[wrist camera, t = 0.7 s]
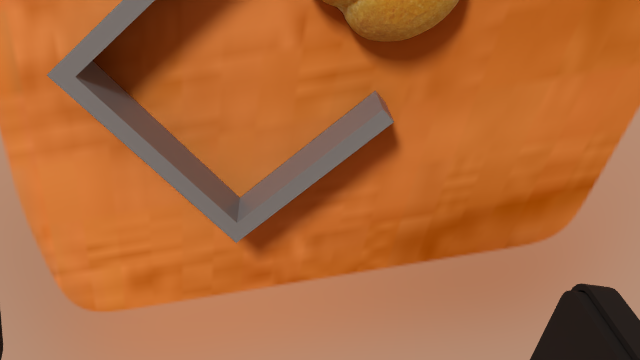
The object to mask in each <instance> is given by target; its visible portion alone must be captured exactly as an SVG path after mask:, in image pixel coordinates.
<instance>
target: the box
mask: <svg viewBox="0 0 640 360" xmlns="http://www.w3.org/2000/svg"><path fill="white" fill-rule="evenodd" d="M154 1H155V0H123V1H122V2H121V3H120V4H118V5H117V6H116V7H115V8H114V9H113V10H112V11H111V12H110V13H109V14H108V15H107V16H106V17H105V18H104V19H103V20H102V21H101V22H100V23H99V24H98V25H97V26H96V27H95V28H94V29H93V30H92V31H91V32H90V33H89V34H88V35H87V36H86V37H85V38H84V39H83V40H82V41H81V42H80V43H79V44H78V45H77V46H76V47H75V48H74V49H73V50H72V51H71V52H70V53H69V54H68V55H67V56H66V57H65V58H64V59H63V60H62V61H60V62H59V63H58V64H57V65H56V66H55V67H54V68H53V69H52V70H51V71H50V72H49V73H48V74H47V76H48V77H49V78H50V79H52V80H53V81H54V82H55V83H56V84H57V85H58V86H60V87H61V88H62V89H63V90H64V91H65V92H66V93H67V94H69V95H70V96H71V97H72V98H73V99H74V100H75V101H77V102H78V103H79V104H80V105H81V106H82V107H83V108H84V109H86V110H87V111H88V112H89V113H90V114H91V115H92V116H94V117H95V118H96V119H97V120H98V121H99V122H100V123H101V124H103V125H104V126H105V127H106V128H107V129H108V130H109V131H110V132H112V133H113V134H114V135H115V136H116V137H117V138H118V139H120V140H121V141H122V142H123V143H124V144H125V145H126V146H127V147H129V148H130V149H131V150H132V151H133V152H134V153H135V154H137V155H138V156H139V157H140V158H141V159H142V160H143V161H144V162H146V163H147V164H148V165H149V166H150V167H151V168H152V169H153V170H155V171H156V172H157V173H158V174H159V175H160V176H161V177H163V178H164V179H165V180H166V181H167V182H168V183H169V184H170V185H172V186H173V187H174V188H175V189H176V190H177V191H178V192H180V193H181V194H182V195H183V196H184V197H185V198H186V199H187V200H189V201H190V202H191V203H192V204H193V205H194V206H195V207H197V208H198V209H199V210H200V211H201V212H202V213H203V214H204V215H206V216H207V217H208V218H209V219H210V220H211V221H212V222H213V223H215V224H216V225H217V226H218V227H219V228H220V229H221V230H223V231H224V232H225V233H226V234H227V235H228V236H229V237H230V238H232V239H233V240H234V241H235V242H236V243H237V242H238V241H239V240H241V239H242V238H243V237H244V236H246V235H247V234H248V233H250V232H251V231H252V230H254V229H255V228H256V227H258V226H259V225H260V224H261V223H263V222H264V221H265V220H267V219H268V218H269V217H271V216H272V215H273V214H275V213H276V212H277V211H278V210H280V209H281V208H282V207H284V206H285V205H286V204H288V203H289V202H290V201H292V200H293V199H294V198H295V197H297V196H298V195H299V194H301V193H302V192H303V191H305V190H306V189H307V188H308V187H310V186H311V185H312V184H314V183H315V182H316V181H318V180H319V179H320V178H322V177H323V176H324V175H325V174H327V173H328V172H329V171H331V170H332V169H333V168H335V167H336V166H337V165H339V164H340V163H341V162H342V161H344V160H345V159H346V158H348V157H349V156H350V155H352V154H353V153H354V152H355V151H357V150H358V149H359V148H361V147H362V146H363V145H365V144H366V143H367V142H369V141H370V140H371V139H372V138H374V137H375V136H376V135H378V134H379V133H380V132H382V131H383V130H384V129H386V128H387V127H388V126H389V125H391V124H392V123H393V122H394V121H393V119H392V116H391V114H390V112H389V110H388V108H387V105H386V103H385V102H384V100H383V99H382V98H381V97H380V96H379V95H378V93H377V92H376V91H374V92H373V93H372V94H371V95H369V96H368V97H367V98H366V99H364V100H363V101H362V102H361V103H359V104H358V105H357V106H355V107H354V108H353V109H352V110H350V111H349V112H348V113H347V114H345V115H344V116H343V117H342V118H340V119H339V120H338V121H336V122H335V123H334V124H333V125H331V126H330V127H329V128H328V129H326V130H325V131H324V132H323V133H321V134H320V135H319V136H318V137H316V138H315V139H314V140H312V141H311V142H310V143H309V144H307V145H306V146H305V147H304V148H302V149H301V150H300V151H299V152H297V153H296V154H295V155H294V156H292V157H291V158H290V159H288V160H287V161H286V162H285V163H283V164H282V165H281V166H280V167H278V168H277V169H276V170H275V171H273V172H272V173H271V174H270V175H268V176H267V177H266V178H264V179H263V180H262V181H261V182H259V183H258V184H257V185H256V186H254V187H253V188H252V189H251V190H249V191H248V192H247V193H246V194H244V195H243V196H242V197H240V198H239V197H238V196H237V195H236V194H235V193H234V192H233V191H232V190H231V189H230V188H229V187H228V186H226V185H225V184H224V183H223V182H222V181H221V180H220V179H219V178H218V177H217V176H216V175H215V174H214V173H212V172H211V171H210V170H209V169H208V168H207V167H206V166H205V165H204V164H203V163H202V162H201V161H200V160H199V159H197V158H196V157H195V156H194V155H193V154H192V153H191V152H190V151H189V150H188V149H187V148H186V147H185V146H183V145H182V144H181V143H180V142H179V141H178V140H177V139H176V138H175V137H174V136H173V135H172V134H171V133H169V132H168V131H167V130H166V129H165V128H164V127H163V126H162V125H161V124H160V123H159V122H158V121H157V120H156V119H154V118H153V117H152V116H151V115H150V114H149V113H148V112H147V111H146V110H145V109H144V108H143V107H142V106H140V105H139V104H138V103H137V102H136V101H135V100H134V99H133V98H132V97H131V96H130V95H129V94H128V93H126V92H125V91H124V90H123V89H122V88H121V87H120V86H119V85H118V84H117V83H116V82H115V81H114V80H113V79H111V78H110V77H109V76H108V75H107V74H106V73H105V72H104V71H103V70H102V69H101V68H100V67H99V66H97V65H96V64H95V63H94V62H93V61H92V60H93V59H94V58H95V57H96V56H97V55H98V54H99V53H101V52H102V51H103V50H104V49H105V48H106V47H107V46H108V45H109V44H110V43H111V42H112V41H113V40H114V39H115V38H116V37H117V36H118V35H119V34H120V33H121V32H122V31H123V30H124V29H125V28H127V27H128V26H129V25H130V24H131V23H132V22H133V21H134V20H135V19H136V18H137V17H138V16H139V15H140V14H141V13H142V12H143V11H144V10H145V9H146V8H147V7H148V6H149V5H150V4H151V3H152V2H154Z"/></svg>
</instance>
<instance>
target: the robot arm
mask: <svg viewBox="0 0 640 360" xmlns="http://www.w3.org/2000/svg"><path fill="white" fill-rule="evenodd" d="M2 352H3V338H2V325H1V313H0V360H1V357H2ZM530 360H640V320H639V319H638V318H637V316H636V315H635V314H634V312H633V311H632V310H631V308H630V307H629V306H628V304H626V302H625V301H624V299H623V298H622V297H621V295H620V294H619V293H618V292H617V291H616V290H615V289H613V288H610V287H603V286H596V285H588V284H577V285H576V286H574V287H573V288H572V290H571V291H566V292H565V293H564V294H563V295H562V297H561V298H560V300H559V302H558V304H557V306H556V309H555V310H554V312H553V314H552V316H551V318H550V320H549V322H548V324H547V326H546V328H545V330H544V332H543V334H542V336H541V338H540V341H539V343H538V345H537V347H536V349H535V351H534V353H533V355H532V357H531V359H530Z"/></svg>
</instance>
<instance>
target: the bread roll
mask: <svg viewBox="0 0 640 360" xmlns="http://www.w3.org/2000/svg"><path fill="white" fill-rule="evenodd" d="M322 1H323V2H325V3H327V4H330V5H332V6H336V7H337V8H338V9H339V10H340V11H341V12H342V13H343V14H344V16H345V19H346V21H347V22H348V24H349V25H350V27H351V28H352V29H353V30H354V31H355V32H356V33H357V34H359V35H360V36H361V37H364V38H366V39H369V40H373V41H383V42H389V41H400V40H405V39H410V38H412V37H414V36H416V35H419V34H421V33H423V32H425V31H427V30H429V29H430V28H432V27H434V26H435V25H436V24H438V23H439V22H440V21H442V20H443V19H444V18H445V17H446V16H447V15H448V14H449V13H450V12H451V11H452V9H453V8H454V7H455V6H456V5H457V3H458V1H459V0H322Z"/></svg>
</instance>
